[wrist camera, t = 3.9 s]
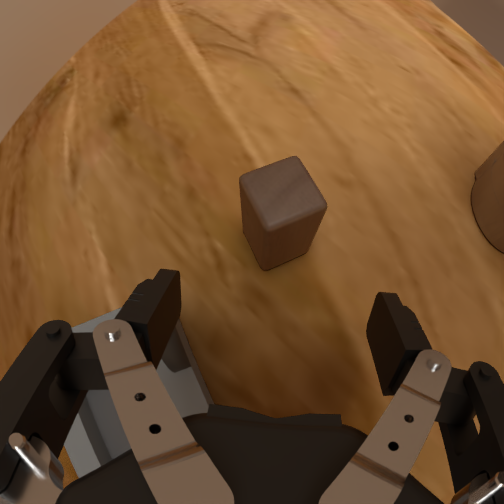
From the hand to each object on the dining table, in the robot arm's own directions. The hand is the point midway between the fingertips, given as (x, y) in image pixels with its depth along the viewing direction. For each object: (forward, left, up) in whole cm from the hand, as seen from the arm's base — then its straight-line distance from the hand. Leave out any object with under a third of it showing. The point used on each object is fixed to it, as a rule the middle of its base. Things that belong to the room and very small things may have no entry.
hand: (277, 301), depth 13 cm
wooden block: (-7, 0, -11) cm, 13 cm away
